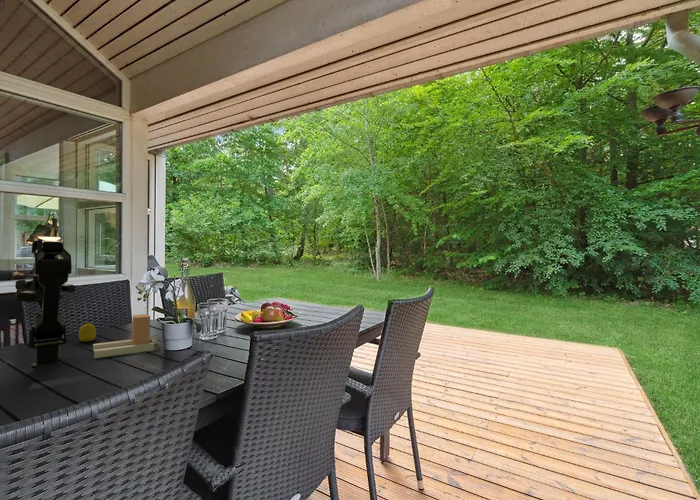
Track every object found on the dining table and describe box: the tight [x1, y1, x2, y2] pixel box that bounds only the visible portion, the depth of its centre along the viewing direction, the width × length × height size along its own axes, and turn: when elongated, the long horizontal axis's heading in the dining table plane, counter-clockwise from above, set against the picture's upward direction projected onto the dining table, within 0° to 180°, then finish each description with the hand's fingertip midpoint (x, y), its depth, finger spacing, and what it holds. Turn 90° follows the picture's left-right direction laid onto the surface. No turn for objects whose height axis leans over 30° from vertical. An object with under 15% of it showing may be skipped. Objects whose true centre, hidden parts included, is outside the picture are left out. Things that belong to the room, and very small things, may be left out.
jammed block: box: [131, 313, 151, 345], centre depth 133 cm, size 5×5×12 cm
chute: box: [92, 336, 160, 359], centre depth 130 cm, size 19×10×4 cm, turn 128°
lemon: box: [78, 322, 97, 343], centre depth 139 cm, size 6×6×8 cm
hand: (47, 316), depth 126 cm, fingers closed
